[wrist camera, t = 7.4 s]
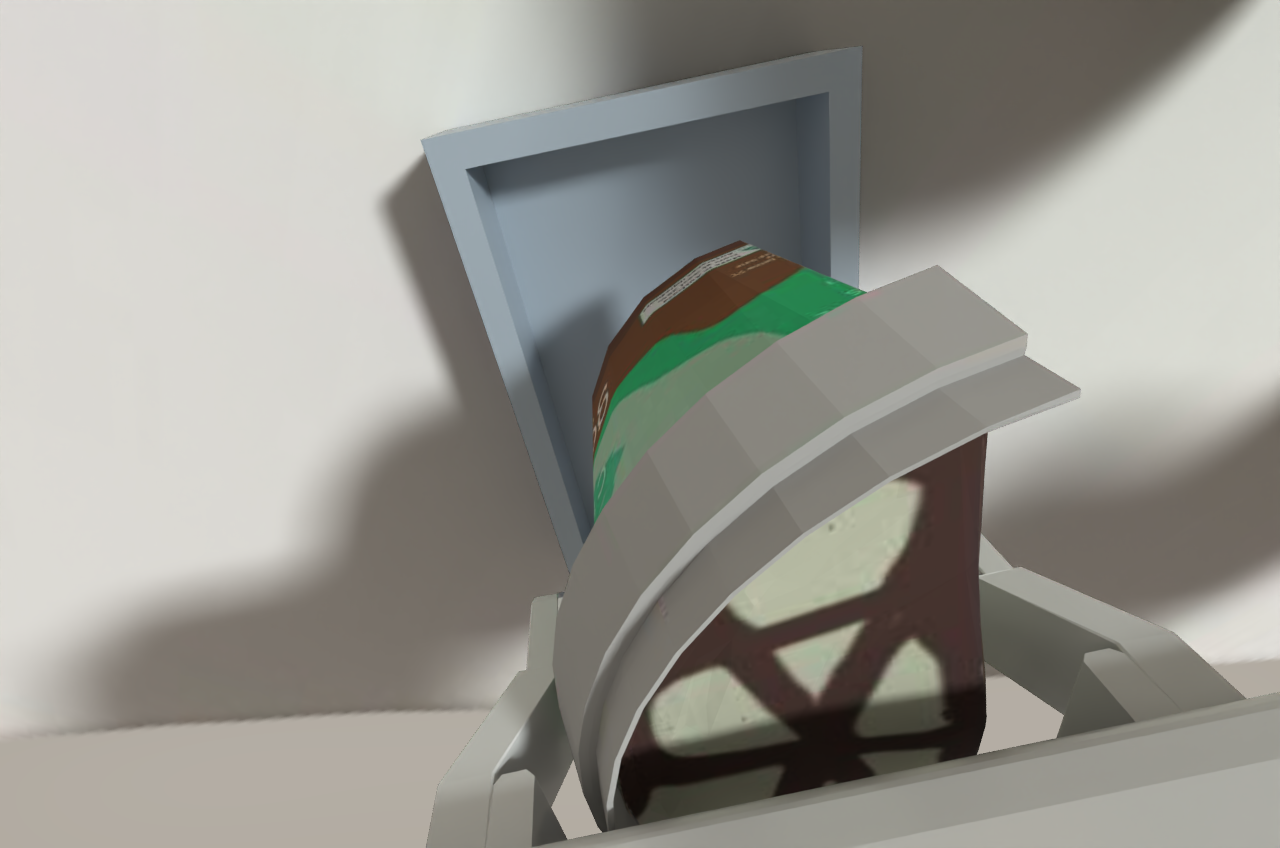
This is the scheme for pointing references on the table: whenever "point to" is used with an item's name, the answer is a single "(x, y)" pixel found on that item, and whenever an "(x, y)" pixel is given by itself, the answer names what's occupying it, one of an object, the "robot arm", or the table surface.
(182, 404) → the table surface
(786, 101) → the holder tray
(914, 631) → the food container
